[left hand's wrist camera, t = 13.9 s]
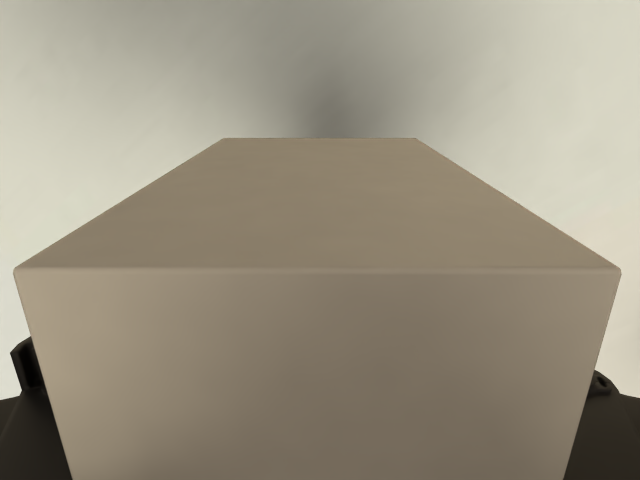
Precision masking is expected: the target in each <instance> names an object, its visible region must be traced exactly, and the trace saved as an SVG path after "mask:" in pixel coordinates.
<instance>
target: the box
mask: <svg viewBox="0 0 640 480" xmlns="http://www.w3.org/2000/svg"><path fill="white" fill-rule="evenodd" d="M13 275H14V279H15V282H16V286H17V289H18V293H19V296H20V300H21V303H22V306H23V310H24V313H25V317H26V320H27V324H28V327H29V331H30V334H31V338H32V341H33V344H34V348H35V351H36V355H37V358H38V362H39V365H40V369H41V372H42V376H43V379H44V382H45V386H46V389H47V393H48V396H49V400H50V403H51V407H52V410H53V414H54V417H55V420H56V424H57V427H58V431H59V434H60V438H61V441H62V445H63V448H64V452H65V455H66V458H67V462H68V465H69V469H70V472H71V476H72V479H73V480H563V478H564V474H565V471H566V467H567V464H568V460H569V457H570V453H571V450H572V446H573V443H574V439H575V436H576V432H577V429H578V425H579V422H580V418H581V415H582V411H583V408H584V404H585V401H586V397H587V394H588V390H589V387H590V383H591V380H592V376H593V372H594V369H595V365H596V362H597V358H598V355H599V351H600V348H601V344H602V341H603V337H604V334H605V330H606V327H607V323H608V320H609V316H610V313H611V309H612V306H613V302H614V299H615V295H616V292H617V288H618V285H619V281H620V278H621V270H620V268H619V267H617V266H616V265H614V264H612V263H611V262H609V261H608V260H606V259H605V258H603V257H601V256H600V255H598V254H597V253H595V252H594V251H592V250H590V249H589V248H587V247H586V246H584V245H583V244H581V243H579V242H578V241H576V240H575V239H573V238H572V237H570V236H568V235H567V234H565V233H564V232H562V231H561V230H559V229H557V228H556V227H554V226H553V225H551V224H550V223H548V222H546V221H545V220H543V219H542V218H540V217H539V216H537V215H536V214H534V213H532V212H531V211H529V210H528V209H526V208H525V207H523V206H521V205H520V204H518V203H517V202H515V201H514V200H512V199H510V198H509V197H507V196H506V195H504V194H503V193H501V192H499V191H498V190H496V189H495V188H493V187H492V186H490V185H488V184H487V183H485V182H484V181H482V180H481V179H479V178H477V177H476V176H474V175H473V174H471V173H470V172H468V171H466V170H465V169H463V168H462V167H460V166H459V165H457V164H455V163H454V162H452V161H451V160H449V159H448V158H446V157H444V156H443V155H441V154H440V153H438V152H437V151H435V150H433V149H432V148H430V147H429V146H427V145H426V144H424V143H422V142H421V141H419V140H418V139H416V138H223V139H221V140H220V141H218V142H216V143H215V144H213V145H212V146H210V147H208V148H207V149H205V150H204V151H202V152H200V153H199V154H197V155H196V156H194V157H192V158H191V159H189V160H187V161H186V162H184V163H183V164H181V165H179V166H178V167H176V168H175V169H173V170H171V171H170V172H168V173H167V174H165V175H163V176H162V177H160V178H158V179H157V180H155V181H154V182H152V183H150V184H149V185H147V186H146V187H144V188H142V189H141V190H139V191H138V192H136V193H134V194H133V195H131V196H129V197H128V198H126V199H125V200H123V201H121V202H120V203H118V204H117V205H115V206H113V207H112V208H110V209H109V210H107V211H105V212H104V213H102V214H100V215H99V216H97V217H96V218H94V219H92V220H91V221H89V222H88V223H86V224H84V225H83V226H81V227H80V228H78V229H76V230H75V231H73V232H71V233H70V234H68V235H67V236H65V237H63V238H62V239H60V240H59V241H57V242H55V243H54V244H52V245H51V246H49V247H47V248H46V249H44V250H42V251H41V252H39V253H38V254H36V255H34V256H33V257H31V258H30V259H28V260H26V261H25V262H23V263H22V264H20V265H18V266H17V267H15V268H14V271H13Z"/></svg>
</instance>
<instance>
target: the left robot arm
mask: <svg viewBox="0 0 640 480" xmlns="http://www.w3.org/2000/svg"><path fill="white" fill-rule="evenodd" d="M10 354H11V358H12V361H13V364H14V367H15V370H16V373H17V376H18V379H19V383H20V386H21V389H22V392H21V394H20V396H17V397H13V398H8V399H3V400H0V480H73V479H72V476H71V472H70V469H69V465H68V462H67V458H66V455H65V452H64V448H63V445H62V441H61V438H60V434H59V431H58V427H57V424H56V420H55V417H54V414H53V410H52V407H51V403H50V400H49V396H48V393H47V389H46V386H45V382H44V379H43V376H42V372H41V369H40V365H39V362H38V358H37V355H36V351H35V348H34V344H33V341H32V338H31V336H30V337H29V338H27V339H26V340H24V341H22V342H21V343H19V344H18V345H17V346H16V347H15V348H14V349H13V350H12V351H11V352H10ZM563 480H640V398H636V397H631V396H627V395H623V394H620V393H619V391H618V389H617V388H616V387H615V385H614V384H613V383H612V381H611V380H609V379H608V378H607V377H605V376H604V375H602V374H601V373H600V372H598V371H596V370H594V372H593V376H592V380H591V383H590V387H589V390H588V394H587V397H586V401H585V404H584V408H583V411H582V415H581V418H580V422H579V425H578V429H577V432H576V436H575V439H574V443H573V446H572V450H571V453H570V457H569V460H568V464H567V467H566V471H565V474H564V478H563Z"/></svg>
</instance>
